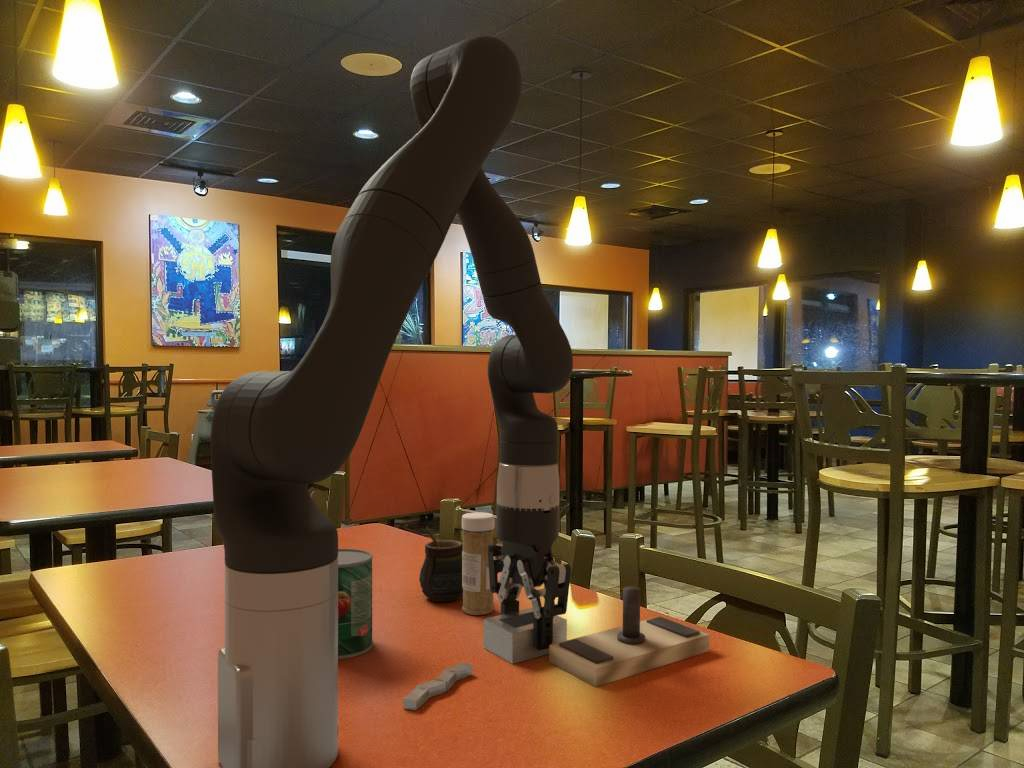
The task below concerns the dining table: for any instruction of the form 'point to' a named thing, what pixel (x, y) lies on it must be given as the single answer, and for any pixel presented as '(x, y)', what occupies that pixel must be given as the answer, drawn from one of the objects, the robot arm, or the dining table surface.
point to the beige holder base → (628, 646)
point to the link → (518, 635)
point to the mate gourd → (442, 570)
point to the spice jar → (477, 562)
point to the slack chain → (436, 685)
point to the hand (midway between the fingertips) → (525, 639)
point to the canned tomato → (354, 602)
